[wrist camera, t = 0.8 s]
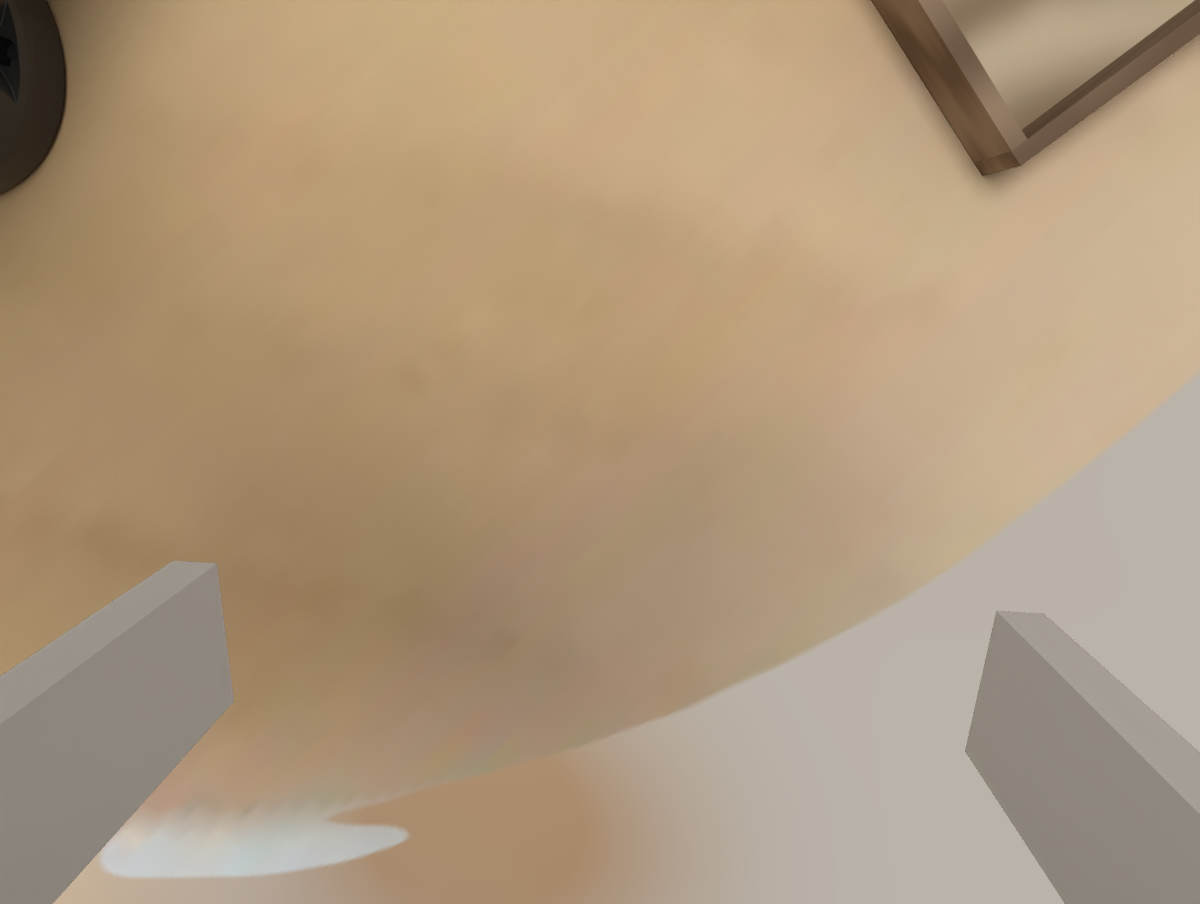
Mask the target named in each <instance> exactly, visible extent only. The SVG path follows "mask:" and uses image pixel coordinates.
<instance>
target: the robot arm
mask: <svg viewBox="0 0 1200 904" xmlns="http://www.w3.org/2000/svg"><path fill="white" fill-rule="evenodd" d="M63 97H64V67H63V58H62V51H61V46H60V41H59V37H58V33H57V30H56V26H55V23H54V20H53V17H52V14H51V12H50V9H49V7H48V4H47V2H46V0H0V193H2V192H4V191H6V190H8V189H10V188H11V187H13V186H15V185H16V184H18V183H19V182H21V181H22V180H23V179H24V178H25V177H27V176H28V175H29V174H30V173H31V172H32V171H33V170H34V169H35V167H36V166H37V165H38V164H39V163H40V161H41V160H42V158H43V157H44V155H45V154H46V152H47V150H48V148H49V147H50V145H51V143H52V140H53V138H54V136H55V133H56V130H57V127H58V124H59V120H60V116H61V111H62V105H63ZM233 702H234V698H233V690H232V682H231V674H230V666H229V658H228V650H227V641H226V633H225V625H224V617H223V609H222V601H221V593H220V585H219V577H218V569H217V563H203V562H187V561H172V562H171V563H169V564H168V565H166V566H165V567H163V568H162V569H160V570H159V571H157V572H156V573H154V574H153V575H151V576H150V577H148V578H147V579H145V580H144V581H142V582H141V583H139V584H138V585H136V586H135V587H133V588H132V589H130V590H129V591H127V592H126V593H124V594H123V595H121V596H120V597H118V598H117V599H115V600H114V601H112V602H111V603H109V604H108V605H106V606H105V607H103V608H102V609H100V610H99V611H97V612H96V613H94V614H93V615H91V616H90V617H88V618H87V619H85V620H84V621H82V622H81V623H79V624H78V625H76V626H75V627H73V628H72V629H70V630H69V631H67V632H66V633H64V634H63V635H61V636H60V637H58V638H57V639H55V640H54V641H52V642H51V643H49V644H48V645H46V646H45V647H43V648H42V649H40V650H39V651H37V652H36V653H34V654H33V655H31V656H30V657H28V658H27V659H25V660H24V661H22V662H21V663H19V664H18V665H16V666H15V667H13V668H12V669H10V670H9V671H7V672H6V673H4V674H3V675H1V676H0V904H53V903H54V902H55V901H56V899H57V898H58V897H59V896H60V895H61V894H62V893H63V891H65V889H66V888H67V887H68V886H69V885H70V884H71V883H72V881H73V880H74V879H75V878H76V877H77V876H78V875H79V874H80V873H81V872H82V870H83V869H84V868H85V867H86V866H87V865H88V864H89V863H90V861H91V860H92V859H93V858H94V857H95V856H96V855H97V854H98V853H99V851H100V850H101V849H102V848H103V847H104V846H105V845H106V844H107V843H108V841H109V840H110V839H111V838H112V837H113V836H114V835H115V834H116V832H117V831H118V830H119V829H120V828H121V827H122V826H123V825H124V824H125V822H126V821H127V820H128V819H129V818H130V817H131V816H132V815H133V813H134V812H135V811H136V810H137V809H138V808H139V807H140V806H141V805H142V803H143V802H144V801H145V800H146V799H147V798H148V797H149V796H150V794H151V793H152V792H153V791H154V790H155V789H156V788H157V787H158V786H159V784H160V783H161V782H162V781H163V780H164V779H165V778H166V777H167V775H168V774H169V773H170V772H171V771H172V770H173V769H174V768H175V767H176V765H177V764H178V763H179V762H180V761H181V760H182V759H183V758H184V757H185V755H186V754H187V753H188V752H189V751H190V750H191V749H192V748H193V746H194V745H195V744H196V743H197V742H198V741H199V740H200V739H201V738H202V736H203V735H204V734H205V733H206V732H207V731H208V730H209V729H210V727H211V726H212V725H213V724H214V723H215V722H216V721H217V720H218V719H219V717H220V716H221V715H222V714H223V713H224V712H225V711H226V710H227V708H228V707H229V706H230V705H231V704H232V703H233ZM965 752H966V754H967V755H968V757H969V758H970V760H971V761H972V763H973V764H974V766H975V767H976V769H977V770H978V772H979V773H980V775H981V776H982V778H983V779H984V781H985V782H986V784H987V786H988V787H989V788H990V790H991V792H992V793H993V795H994V796H995V798H996V799H997V801H998V802H999V804H1000V805H1001V807H1002V808H1003V810H1004V811H1005V813H1006V814H1007V816H1008V818H1009V819H1010V821H1011V822H1012V824H1013V825H1014V827H1015V828H1016V830H1017V831H1018V833H1019V834H1020V836H1021V837H1022V839H1023V840H1024V842H1025V844H1026V845H1027V847H1028V848H1029V850H1030V851H1031V853H1032V854H1033V856H1034V857H1035V859H1036V860H1037V862H1038V863H1039V865H1040V866H1041V868H1042V869H1043V871H1044V872H1045V874H1046V876H1047V877H1048V879H1049V880H1050V882H1051V883H1052V885H1053V886H1054V888H1055V889H1056V890H1057V892H1058V894H1059V895H1060V897H1061V898H1062V900H1063V901H1064V903H1065V904H1200V752H1199V751H1198V750H1197V749H1195V748H1194V747H1193V746H1192V745H1191V744H1190V743H1189V742H1188V741H1186V740H1185V739H1184V738H1183V737H1182V736H1181V735H1180V734H1179V733H1178V732H1176V731H1175V730H1174V729H1173V728H1171V726H1170V725H1169V724H1167V723H1166V722H1165V721H1164V720H1163V719H1162V718H1161V717H1159V715H1157V714H1156V713H1155V712H1154V711H1153V710H1152V709H1151V708H1150V707H1148V706H1147V705H1146V704H1145V703H1144V702H1143V701H1142V700H1140V699H1139V698H1138V697H1137V696H1136V695H1135V694H1134V693H1133V692H1132V691H1130V690H1129V689H1128V688H1127V687H1126V686H1125V685H1124V684H1123V683H1121V682H1120V681H1119V680H1118V679H1117V678H1116V677H1115V676H1114V675H1112V674H1111V673H1110V672H1109V671H1108V670H1107V669H1106V668H1105V667H1103V666H1102V665H1101V664H1100V663H1099V662H1098V661H1097V660H1096V659H1094V658H1093V657H1092V656H1091V655H1090V654H1089V653H1088V652H1087V651H1085V650H1084V649H1083V648H1082V647H1081V646H1080V645H1079V644H1077V642H1075V641H1074V640H1073V639H1072V638H1071V637H1070V636H1069V635H1068V634H1066V633H1065V632H1064V631H1063V630H1062V629H1061V628H1060V627H1059V626H1057V625H1056V624H1055V623H1054V622H1053V621H1052V620H1050V619H1049V618H1048V617H1047V616H1046V615H1045V614H1042V613H1026V612H1009V611H1008V612H1007V611H996V615H995V619H994V625H993V628H992V633H991V637H990V642H989V647H988V651H987V655H986V660H985V664H984V669H983V674H982V678H981V682H980V686H979V691H978V695H977V700H976V704H975V709H974V713H973V718H972V723H971V727H970V731H969V736H968V740H967V745H966V749H965Z"/></svg>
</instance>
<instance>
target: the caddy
mask: <svg viewBox="0 0 1200 904" xmlns="http://www.w3.org/2000/svg"><path fill="white" fill-rule="evenodd" d="M872 2H873V3H874V5H875V6H876V8H877V10H878V11H879V13H880V14H881V16H882V17H883V19H884V21H885V22H886V24H887V25H888V27H889V29H890V30H891V32H892V33H893V35H894V36H895V38H896V40H897V41H898V43H899V44H900V46H901V48H902V49H903V51H904V52H905V54H906V55H907V57H908V59H909V60H910V62H911V63H912V65H913V67H914V68H915V70H916V71H917V73H918V74H919V76H920V78H921V79H922V81H923V82H924V84H925V86H926V87H927V89H928V90H929V92H930V93H931V95H932V97H933V98H934V100H935V101H936V103H937V105H938V106H939V108H940V109H941V111H942V112H943V114H944V116H945V117H946V119H947V120H948V122H949V124H950V125H951V127H952V128H953V130H954V131H955V133H956V135H957V136H958V138H959V139H960V141H961V143H962V144H963V146H964V147H965V149H966V150H967V152H968V154H969V155H970V157H971V158H972V160H973V162H974V163H975V165H976V166H977V168H978V169H979V171H980V173H981V174H982V175H986V174H990V173H994V172H998V171H1002V170H1005V169H1009V168H1013V167H1017V166H1021V165H1022V164H1023V163H1025V162H1026V161H1027V160H1029V159H1030V158H1032V157H1033V156H1034V155H1036V154H1037V153H1038V152H1040V151H1041V150H1042V149H1044V148H1045V147H1046V146H1048V145H1049V144H1050V143H1052V142H1053V141H1055V140H1056V139H1057V138H1059V137H1060V136H1061V135H1063V134H1064V133H1065V132H1067V131H1068V130H1069V129H1071V128H1072V127H1074V126H1075V125H1076V124H1078V123H1079V122H1080V121H1082V120H1083V119H1084V118H1086V117H1087V116H1088V115H1090V114H1091V113H1093V112H1094V111H1095V110H1097V109H1098V108H1099V107H1101V106H1102V105H1103V104H1105V103H1106V102H1107V101H1109V100H1110V99H1112V98H1113V97H1114V96H1116V95H1117V94H1118V93H1120V92H1121V91H1122V90H1124V89H1125V88H1126V87H1128V86H1129V85H1131V84H1132V83H1133V82H1135V81H1136V80H1137V79H1139V78H1140V77H1141V76H1143V75H1144V74H1145V73H1147V72H1148V71H1150V70H1151V69H1152V68H1154V67H1155V66H1156V65H1158V64H1159V63H1160V62H1162V61H1163V60H1164V59H1166V58H1167V57H1169V56H1170V55H1171V54H1173V53H1174V52H1175V51H1177V50H1178V49H1179V48H1181V47H1182V46H1183V45H1185V44H1186V43H1187V42H1189V41H1190V40H1192V39H1193V38H1194V37H1196V36H1197V35H1198V34H1200V0H872Z"/></svg>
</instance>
